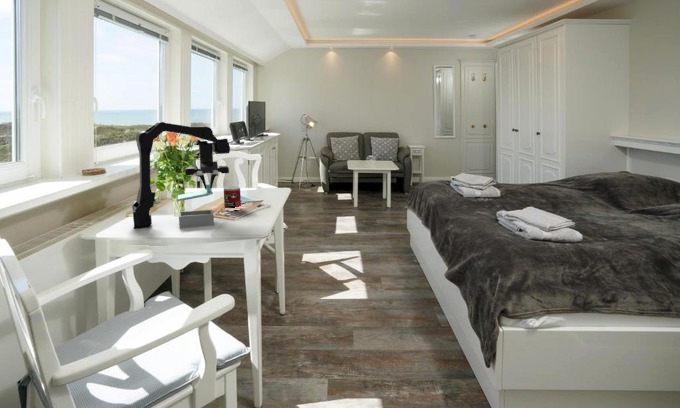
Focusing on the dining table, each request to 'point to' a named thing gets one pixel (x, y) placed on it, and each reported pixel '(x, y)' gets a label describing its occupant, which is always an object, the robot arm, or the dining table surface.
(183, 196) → the lid
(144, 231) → the dining table surface
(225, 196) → the canned food
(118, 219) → the dining table surface
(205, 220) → the tub
